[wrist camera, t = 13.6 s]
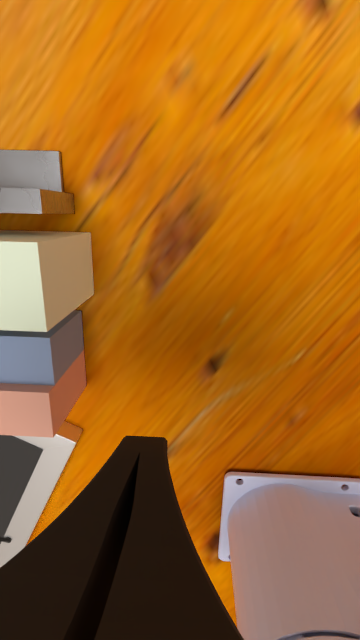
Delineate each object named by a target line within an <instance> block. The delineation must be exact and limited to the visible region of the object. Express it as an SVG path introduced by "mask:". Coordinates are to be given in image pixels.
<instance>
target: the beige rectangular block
mask: <svg viewBox="0 0 360 640" xmlns="http://www.w3.org/2000/svg"><path fill="white" fill-rule="evenodd" d="M92 295H94V282H93V265H92V248H91V232H57V231H20V230H0V330H9V331H36V332H47V331H49V330H50V329H51V328H52V327H54V326H55V325H56V324H57V323H59V322H60V321H61V320H62V319H64V318H65V317H66V316H67V315H69V314H70V313H71V312H72V311H74V310H75V309H76V308H77V307H79V306H80V305H81V304H82V303H84V302H85V301H86V300H87V299H89V298H90V297H91V296H92Z"/></svg>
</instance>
